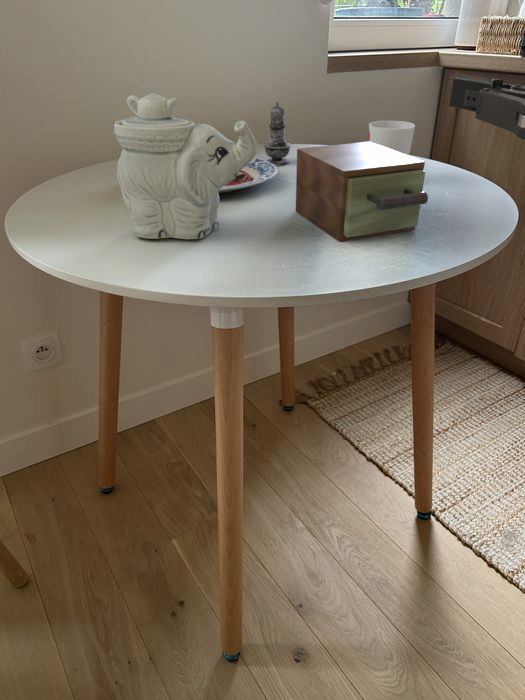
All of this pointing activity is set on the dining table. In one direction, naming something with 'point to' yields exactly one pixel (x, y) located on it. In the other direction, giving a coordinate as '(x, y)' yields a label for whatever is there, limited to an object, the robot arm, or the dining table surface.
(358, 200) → the drawer
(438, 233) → the dining table surface
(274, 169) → the ceramic plate
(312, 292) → the dining table surface
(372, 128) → the cup
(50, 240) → the dining table surface
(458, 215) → the dining table surface
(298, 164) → the cabinet
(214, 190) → the teapot
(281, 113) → the salt shaker
